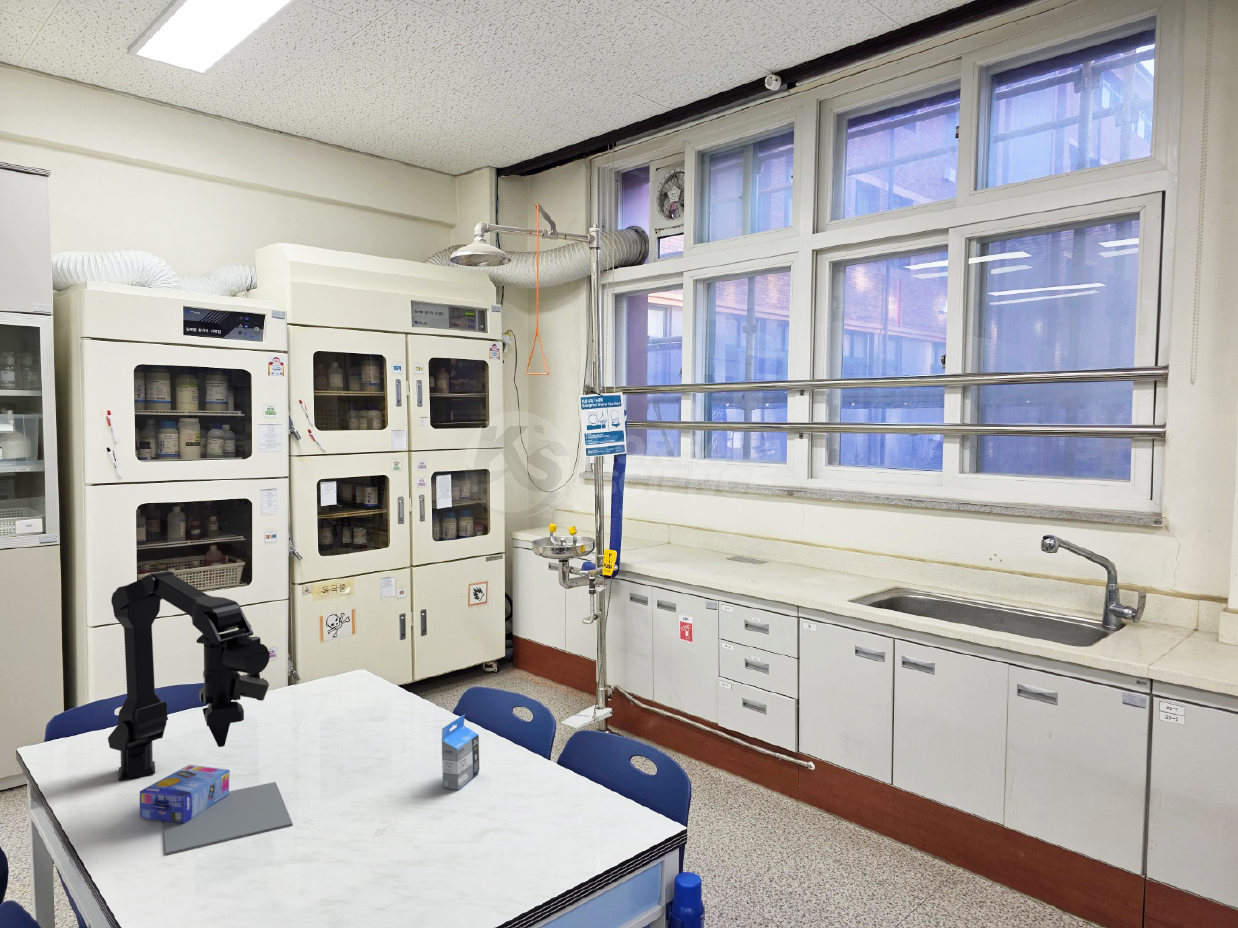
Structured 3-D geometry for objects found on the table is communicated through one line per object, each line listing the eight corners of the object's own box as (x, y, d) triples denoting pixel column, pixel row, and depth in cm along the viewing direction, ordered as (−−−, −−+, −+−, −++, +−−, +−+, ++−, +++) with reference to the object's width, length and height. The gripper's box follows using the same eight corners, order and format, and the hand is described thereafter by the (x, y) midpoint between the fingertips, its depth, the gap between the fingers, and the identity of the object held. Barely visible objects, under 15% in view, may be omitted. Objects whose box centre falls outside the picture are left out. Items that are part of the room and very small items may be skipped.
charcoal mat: (162, 806, 150) (162, 804, 150) (275, 783, 160) (275, 781, 160) (165, 854, 133) (165, 852, 133) (292, 825, 143) (292, 823, 143)
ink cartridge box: (230, 767, 154) (174, 802, 140) (231, 794, 154) (175, 832, 140) (186, 762, 156) (127, 796, 142) (187, 789, 156) (128, 826, 142)
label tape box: (458, 790, 158) (458, 730, 158) (440, 787, 159) (441, 727, 159) (480, 773, 166) (480, 715, 166) (463, 770, 168) (463, 713, 167)
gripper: (272, 672, 150) (273, 753, 150) (258, 650, 166) (259, 723, 166) (206, 682, 144) (207, 766, 144) (199, 657, 160) (199, 733, 160)
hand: (221, 746), depth 154 cm, fingers closed
